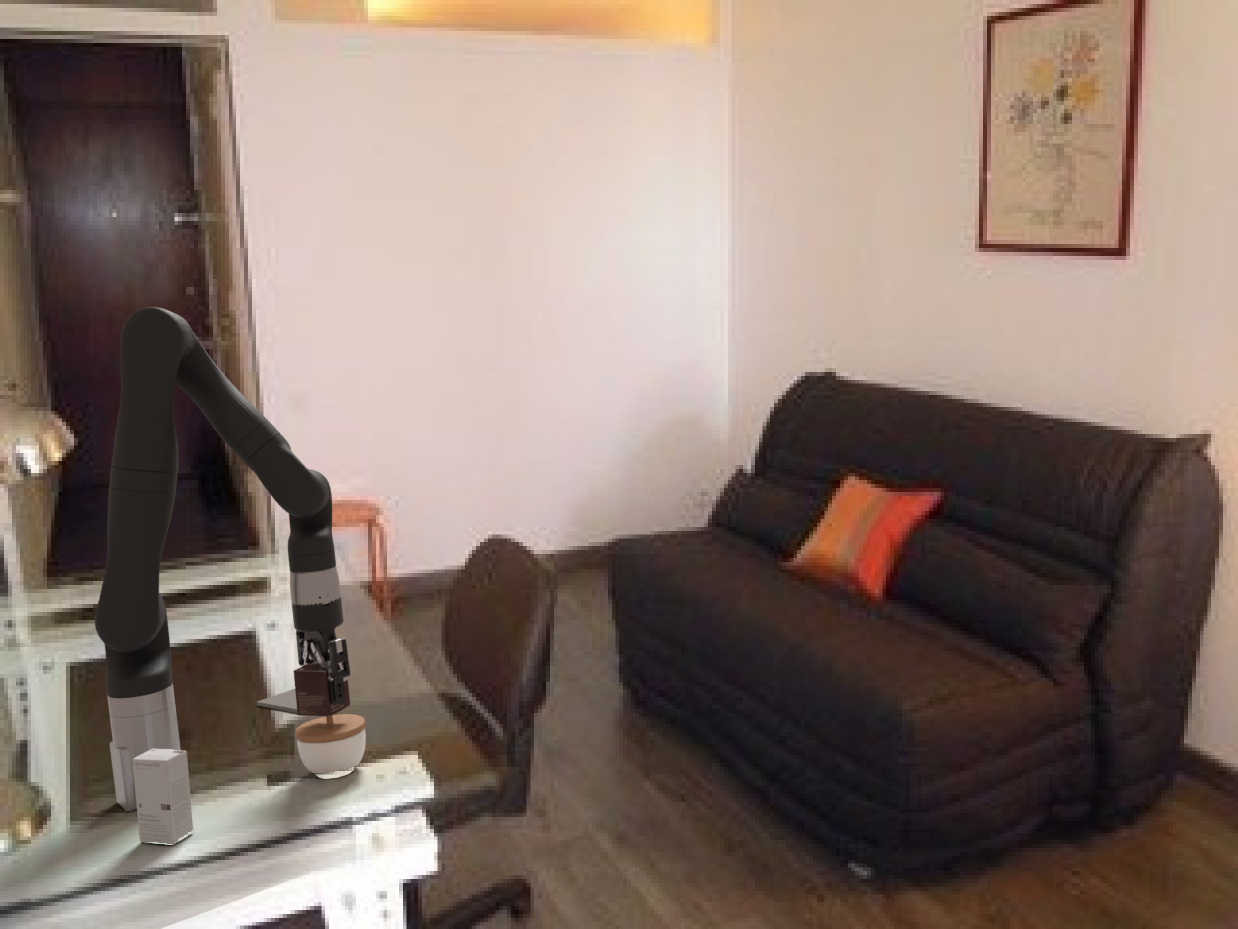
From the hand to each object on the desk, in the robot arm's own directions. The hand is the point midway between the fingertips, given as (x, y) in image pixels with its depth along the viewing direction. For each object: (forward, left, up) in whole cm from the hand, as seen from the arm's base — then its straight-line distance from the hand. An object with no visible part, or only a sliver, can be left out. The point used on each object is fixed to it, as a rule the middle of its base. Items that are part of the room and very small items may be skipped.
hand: (326, 698), depth 168 cm
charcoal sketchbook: (+12, +43, -12) cm, 46 cm away
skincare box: (-27, -5, -12) cm, 30 cm away
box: (-1, 0, -2) cm, 2 cm away
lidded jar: (0, 0, -12) cm, 12 cm away
